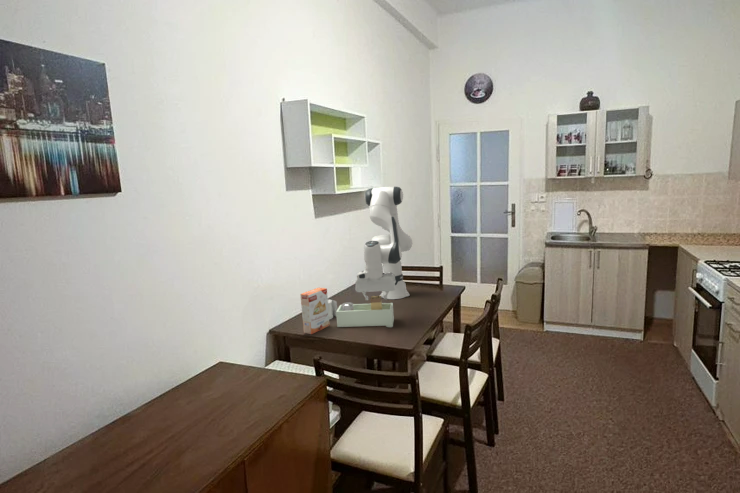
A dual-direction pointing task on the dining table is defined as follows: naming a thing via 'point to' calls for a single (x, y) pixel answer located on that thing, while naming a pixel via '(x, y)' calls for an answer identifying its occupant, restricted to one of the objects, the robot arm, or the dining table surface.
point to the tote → (365, 316)
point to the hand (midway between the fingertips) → (376, 299)
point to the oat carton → (376, 303)
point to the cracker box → (315, 310)
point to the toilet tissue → (332, 308)
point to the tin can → (347, 306)
